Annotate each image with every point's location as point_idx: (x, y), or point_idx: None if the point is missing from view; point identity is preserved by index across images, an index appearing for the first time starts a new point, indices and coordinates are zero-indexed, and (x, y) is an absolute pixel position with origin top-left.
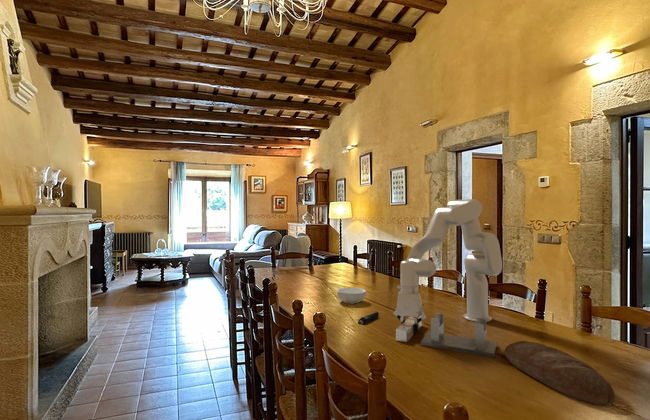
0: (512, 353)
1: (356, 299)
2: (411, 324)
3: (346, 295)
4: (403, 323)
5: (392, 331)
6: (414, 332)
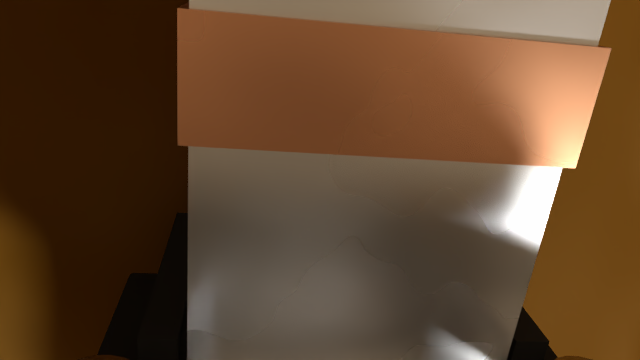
0: None
1: None
2: (239, 273)
3: None
4: (505, 266)
5: (623, 208)
6: None
